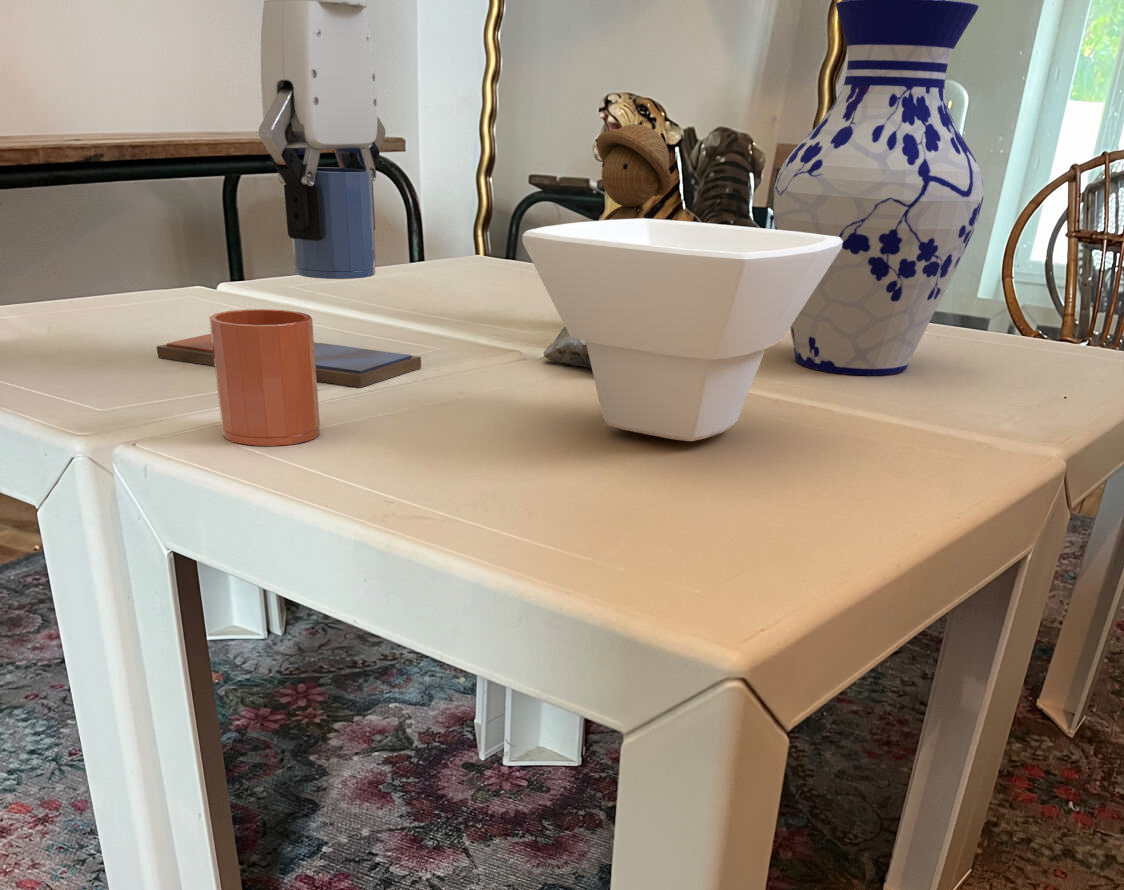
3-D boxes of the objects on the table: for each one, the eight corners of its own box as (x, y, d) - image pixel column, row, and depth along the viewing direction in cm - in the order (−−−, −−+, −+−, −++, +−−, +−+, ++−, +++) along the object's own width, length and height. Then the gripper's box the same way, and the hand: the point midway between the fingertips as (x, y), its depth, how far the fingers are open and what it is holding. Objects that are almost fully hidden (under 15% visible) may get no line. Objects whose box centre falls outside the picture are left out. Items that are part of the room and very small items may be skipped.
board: (157, 357, 103) (155, 343, 102) (229, 341, 111) (227, 328, 110) (360, 387, 95) (359, 373, 95) (421, 367, 103) (421, 354, 102)
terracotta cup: (202, 437, 80) (188, 318, 76) (263, 417, 85) (252, 305, 81) (281, 451, 78) (270, 329, 74) (338, 430, 83) (330, 315, 79)
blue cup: (279, 274, 95) (270, 168, 91) (325, 266, 101) (319, 166, 97) (346, 281, 93) (339, 173, 89) (390, 272, 98) (386, 170, 94)
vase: (973, 364, 114) (1046, 13, 99) (910, 394, 101) (985, -8, 86) (800, 339, 123) (844, 14, 108) (721, 364, 110) (759, -5, 95)
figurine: (572, 326, 125) (581, 121, 115) (620, 321, 129) (632, 123, 119) (628, 340, 119) (641, 124, 109) (675, 334, 123) (693, 126, 113)
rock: (531, 347, 107) (598, 264, 107) (570, 388, 111) (635, 309, 110) (587, 370, 99) (661, 280, 98) (627, 414, 103) (698, 328, 102)
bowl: (623, 393, 97) (634, 216, 90) (836, 432, 88) (866, 237, 81) (495, 436, 83) (496, 229, 76) (732, 486, 74) (758, 258, 67)
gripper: (340, -7, 95) (353, 225, 104) (202, -29, 81) (231, 240, 90) (417, -7, 92) (423, 231, 101) (287, -30, 78) (308, 248, 87)
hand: (332, 233), depth 95 cm, fingers closed on blue cup, 6 cm apart
